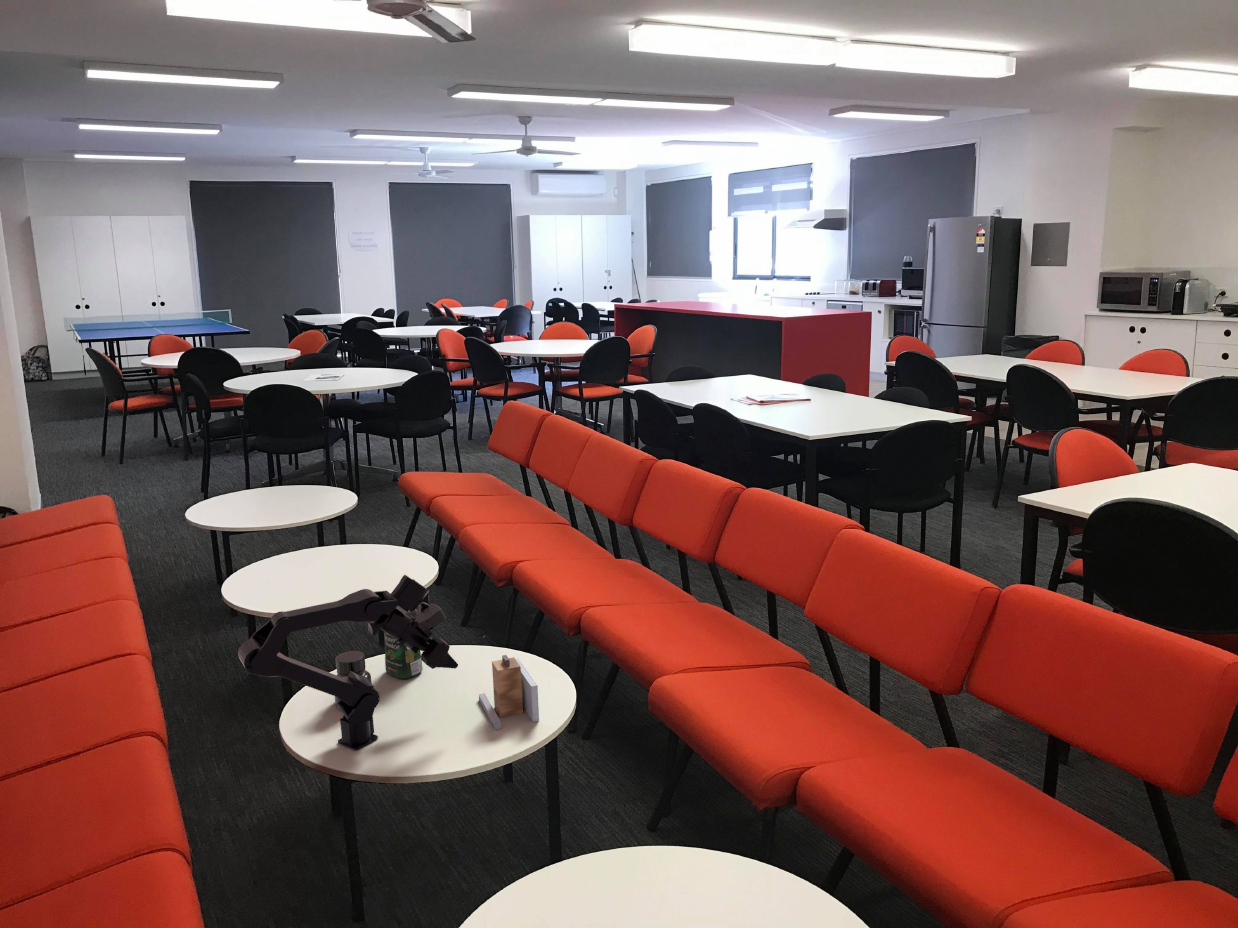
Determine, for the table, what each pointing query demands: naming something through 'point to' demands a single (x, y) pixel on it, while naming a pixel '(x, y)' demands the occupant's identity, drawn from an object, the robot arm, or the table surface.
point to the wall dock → (527, 699)
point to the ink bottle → (351, 665)
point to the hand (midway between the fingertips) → (449, 659)
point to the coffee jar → (401, 655)
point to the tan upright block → (507, 686)
